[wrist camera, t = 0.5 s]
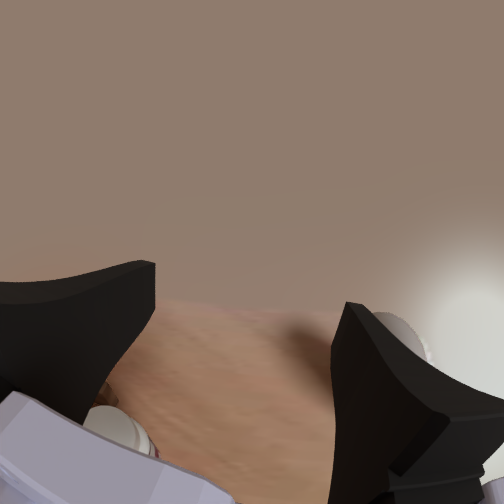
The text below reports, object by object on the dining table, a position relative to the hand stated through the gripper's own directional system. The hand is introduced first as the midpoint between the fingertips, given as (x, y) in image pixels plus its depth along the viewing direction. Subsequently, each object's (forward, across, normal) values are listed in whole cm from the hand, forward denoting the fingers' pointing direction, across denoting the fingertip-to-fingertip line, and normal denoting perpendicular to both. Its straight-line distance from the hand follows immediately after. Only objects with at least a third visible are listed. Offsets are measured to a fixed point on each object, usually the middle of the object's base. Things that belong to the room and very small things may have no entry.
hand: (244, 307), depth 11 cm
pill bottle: (+1, +7, +19) cm, 20 cm away
